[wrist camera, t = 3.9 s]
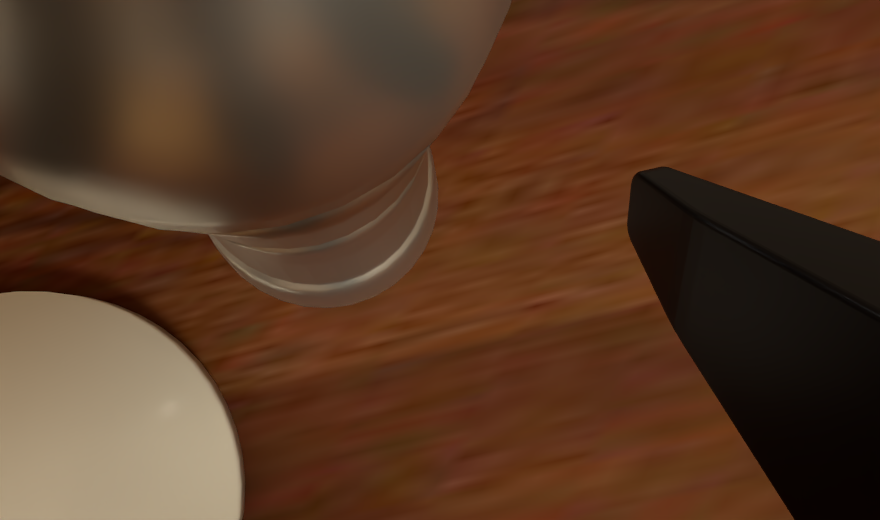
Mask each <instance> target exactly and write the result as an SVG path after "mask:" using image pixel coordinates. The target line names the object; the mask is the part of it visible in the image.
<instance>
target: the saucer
mask: <svg viewBox="0 0 880 520" xmlns="http://www.w3.org/2000/svg"><path fill="white" fill-rule="evenodd" d="M244 505H245V473H244V463H243V454H242V450H241V445H240V441H239V437H238V432H237V429H236V426H235V423H234V421H233V418H232V415H231V413H230V410H229V407H228V405H227V403H226V401H225V399H224V397H223V396H222V394H221V392H220V390H219V388H218V386H217V385H216V383H215V381H214V380H213V379H212V377H211V376H210V374H209V373H208V372H207V370H206V369H205V368H204V366H203V365H202V364H201V362H200V361H199V360H198V359H197V358H196V357H195V356H194V355H193V354H192V353H191V352H190V351H189V350H188V349H187V348H186V347H185V346H184V345H183V344H182V343H181V342H180V341H179V340H177V339H176V338H175V337H174V336H172V335H171V334H170V333H168V332H167V331H166V330H165V329H163V328H162V327H160V326H159V325H157V324H155V323H154V322H152V321H150V320H148V319H147V318H145V317H143V316H141V315H140V314H137V313H135V312H133V311H130V310H128V309H125V308H123V307H121V306H118V305H116V304H112V303H109V302H105V301H101V300H97V299H94V298H90V297H83V296H76V295H68V294H61V293H53V292H36V291H16V292H8V293H0V520H243V515H244Z"/></svg>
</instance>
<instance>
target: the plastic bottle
mask: <svg viewBox="0 0 880 520" xmlns="http://www.w3.org/2000/svg"><path fill="white" fill-rule="evenodd" d="M510 4H511V0H0V175H1V176H3V177H5V178H7V179H9V180H11V181H13V182H15V183H18V184H20V185H22V186H24V187H26V188H28V189H30V190H32V191H34V192H36V193H38V194H41V195H43V196H45V197H47V198H49V199H51V200H55V201H59V202H62V203H66V204H70V205H74V206H77V207H80V208H83V209H86V210H89V211H92V212H95V213H98V214H102V215H106V216H110V217H114V218H117V219H121V220H125V221H129V222H133V223H137V224H140V225H144V226H148V227H152V228H156V229H160V230H174V231H184V232H193V233H202V234H208V235H209V236H210V238H211V240H212V241H213V243H214V245H215V246H216V248H217V249H218V251H219V252H220V253H221V255H222V256H223V257H224V259H225V260H226V261H227V262H228V263H229V264H230V265H231V266H232V267H233V268H234V270H235V271H236V272H237V273H238V274H239V275H240V276H241V277H243V278H244V279H245V280H247V281H248V282H249V283H251V284H252V285H253V286H255V287H256V288H257V289H259V290H260V291H262V292H265V293H267V294H269V295H271V296H273V297H275V298H277V299H279V300H281V301H285V302H289V303H293V304H297V305H301V306H304V307H321V308H332V307H339V306H346V305H352V304H355V303H358V302H361V301H364V300H366V299H369V298H372V297H375V296H376V295H378V294H380V293H381V292H383V291H385V290H386V289H388V288H390V287H391V286H393V285H394V284H395V283H396V282H398V281H399V280H400V279H401V278H402V277H403V276H404V275H405V274H406V273H407V272H408V271H409V270H411V268H412V267H413V265H414V264H415V263H416V261H417V260H418V258H419V257H420V256H421V254H422V253H423V251H424V249H425V247H426V245H427V243H428V240H429V238H430V236H431V234H432V231H433V228H434V223H435V219H436V214H437V209H438V183H437V177H436V172H435V167H434V161H433V156H432V152H431V149H430V145H431V143H432V142H433V141H434V140H435V139H436V138H437V137H438V136H439V134H440V133H441V131H442V130H443V129H444V127H445V126H446V125H447V123H448V122H449V121H450V119H451V118H452V116H453V115H454V114H455V112H456V111H457V110H458V108H459V107H460V106H461V104H462V103H463V101H464V100H465V99H466V97H467V96H468V95H469V92H470V90H471V88H472V86H473V84H474V82H475V80H476V78H477V76H478V74H479V72H480V70H481V68H482V67H483V65H484V63H485V61H486V59H487V56H488V54H489V52H490V50H491V47H492V45H493V43H494V41H495V39H496V36H497V34H498V32H499V30H500V27H501V25H502V23H503V21H504V18H505V16H506V14H507V12H508V9H509V7H510Z"/></svg>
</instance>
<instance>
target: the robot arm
mask: <svg viewBox="0 0 880 520" xmlns="http://www.w3.org/2000/svg"><path fill="white" fill-rule="evenodd" d="M627 226H628V233H629V237H630V240H631V242H632V244H633V246H634V248H635V250H636V252H637V254H638V257H639V259H640V261H641V263H642V265H643V267H644V269H645V271H646V273H647V275H648V277H649V279H650V282H651V284H652V286H653V288H654V290H655V292H656V294H657V296H658V298H659V300H660V302H661V305H662V307H663V309H664V311H665V313H666V315H667V317H668V319H669V321H670V323H671V325H672V326H673V328H674V330H675V332H676V333H677V335H678V337H679V338H680V340H681V342H682V343H683V345H684V347H685V348H686V350H687V351H688V353H689V354H690V356H691V358H692V359H693V361H694V362H695V364H696V365H697V367H698V369H699V370H700V372H701V373H702V375H703V376H704V378H705V380H706V381H707V383H708V384H709V386H710V387H711V389H712V391H713V392H714V394H715V395H716V397H717V398H718V400H719V402H720V403H721V405H722V406H723V408H724V409H725V411H726V413H727V414H728V416H729V417H730V419H731V421H732V422H733V424H734V425H735V427H736V428H737V430H738V432H739V433H740V435H741V436H742V438H743V439H744V441H745V443H746V444H747V446H748V447H749V449H750V450H751V452H752V454H753V455H754V457H755V458H756V460H757V461H758V463H759V465H760V466H761V468H762V469H763V471H764V472H765V474H766V476H767V477H768V479H769V480H770V482H771V483H772V485H773V487H774V488H775V490H776V491H777V493H778V494H779V496H780V498H781V499H782V501H783V502H784V504H785V505H786V507H787V509H788V510H789V512H790V513H791V515H792V516H793V518H794V520H880V241H877V240H875V239H872V238H869V237H866V236H863V235H860V234H857V233H855V232H852V231H849V230H846V229H843V228H840V227H837V226H834V225H832V224H829V223H826V222H823V221H820V220H817V219H814V218H812V217H809V216H806V215H803V214H800V213H797V212H794V211H792V210H789V209H786V208H783V207H780V206H777V205H774V204H772V203H769V202H766V201H763V200H760V199H757V198H754V197H752V196H749V195H746V194H743V193H740V192H737V191H734V190H732V189H729V188H726V187H723V186H720V185H717V184H714V183H712V182H709V181H706V180H703V179H700V178H697V177H694V176H692V175H689V174H686V173H683V172H680V171H677V170H674V169H672V168H669V167H658V168H654V169H649V170H645V171H640V172H638V173H637V174H636V175H635V176H634V177H633V179H632V183H631V192H630V201H629V211H628V221H627Z"/></svg>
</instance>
